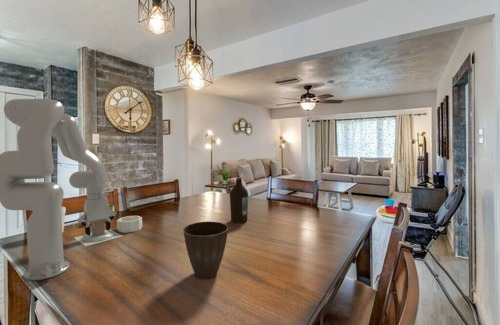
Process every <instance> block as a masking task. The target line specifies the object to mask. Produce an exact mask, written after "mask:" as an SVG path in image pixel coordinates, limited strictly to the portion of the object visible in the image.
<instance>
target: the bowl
mask: <svg viewBox="0 0 500 325" xmlns="http://www.w3.org/2000/svg"><path fill="white" fill-rule="evenodd" d="M142 227H143V217H142V216H139V215H127V216H123V217H120V218H118V219H116V231H118V232H119V233H122V234H123V233H133V232H136V231H137V232H138V231H139V230H142Z"/></svg>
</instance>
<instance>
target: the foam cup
mask: <svg viewBox="0 0 500 325" xmlns="http://www.w3.org/2000/svg"><path fill="white" fill-rule="evenodd" d="M65 219H66V206H62V209H61V222H62V234H63V233H64V228H65Z"/></svg>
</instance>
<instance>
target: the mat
mask: <svg viewBox="0 0 500 325" xmlns="http://www.w3.org/2000/svg"><path fill="white" fill-rule="evenodd" d="M110 231H113V232H114V236H113V237H111V238H109V239H106V240H102V241H97V242H85V241H83V240H82V237H83V236H84V235H85V234H84V235H79V236H75V237H73V239H75V240H76V241H77V242H78V243H80V244H81V245H83V246H84V247H88V246H91V245H95V244H99V243H103V242H107V241H111V240H114V239H118V238H121V237H123V235H122V234H121V233H118V232H116V231H114V230H112V229H110Z"/></svg>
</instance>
